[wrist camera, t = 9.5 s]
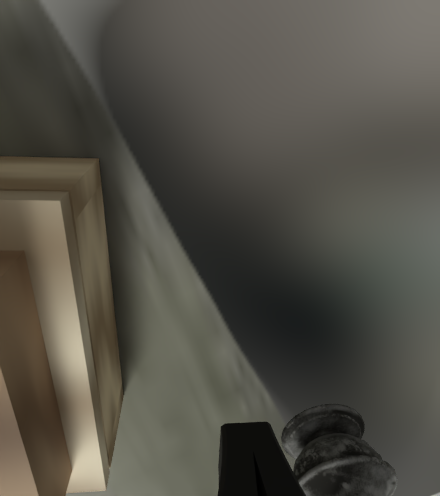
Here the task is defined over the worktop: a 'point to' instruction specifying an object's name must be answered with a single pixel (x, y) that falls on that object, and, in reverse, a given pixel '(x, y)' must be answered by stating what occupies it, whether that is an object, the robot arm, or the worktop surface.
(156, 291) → the worktop surface
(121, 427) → the worktop surface
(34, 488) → the lid
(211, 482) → the worktop surface
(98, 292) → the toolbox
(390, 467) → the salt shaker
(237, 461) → the robot arm
